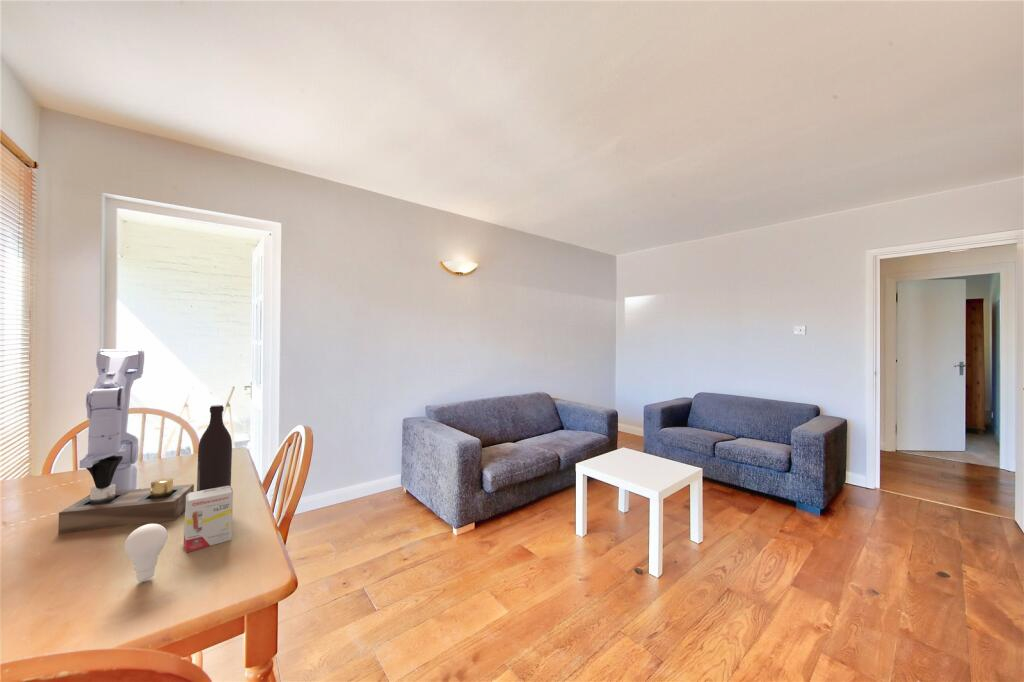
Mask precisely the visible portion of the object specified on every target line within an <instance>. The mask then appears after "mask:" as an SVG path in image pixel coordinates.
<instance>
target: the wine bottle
mask: <svg viewBox="0 0 1024 682" xmlns="http://www.w3.org/2000/svg"><path fill="white" fill-rule="evenodd" d="M224 407H225V406H223V404H213V405H210V407H209V413H210V419H209V423H208V426H207V427H206V429H205V431H204V432H203V433H202V435H201V437H200V439H199V441H198V450H197V474H196V476H197V477H196V491H202V490H207V489H213V488H218V487H224V486H231V487H232V461H233V459H232V457H233V442H232V440H233V439H232V436H231V434H230V432H229V431H228V429H227V428H226V426H225V424H224V420H223V412H224V409H225V408H224Z"/></svg>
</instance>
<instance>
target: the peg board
mask: <svg viewBox="0 0 1024 682" xmlns="http://www.w3.org/2000/svg"><path fill="white" fill-rule="evenodd" d="M194 487H195V484H193V483H192V484H191V483H190V484H181V485H173V494H172V495H171V496H170V497H164V498H154V499H150V495H151V487H147V488H140V489H133V490H121V491H115V500H113V501H112V502H110V503H101V504H91V505H90V494H89V495H87V496H85V497H83V498H81V499H80V500H78V501H76V502H75V503H73V504H71V505H69V506H68V507H66V508H65V509H63V510H61V511H59V512H58V525H57V526H58V527H57V530H58V531H57V532H58V533H57V534H65V533H74V532H84V531H90V530H92V531H93V530H99V529H100V530H101V529H108V528H115V527H116V528H117V527H118V528H120V527H127V526H135V525H136V526H137V525H146V524H155V523H161V522H169V521H170V522H171V521H175V520H176V519H177V518H178V517H179V516H180V515H181V514H182V513H183V512H184V511H185V506H186V495H187V494H189V493H191V492H195V488H194Z"/></svg>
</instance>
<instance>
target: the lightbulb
mask: <svg viewBox="0 0 1024 682" xmlns="http://www.w3.org/2000/svg"><path fill="white" fill-rule="evenodd" d="M168 536H169V534H168V530H167V529H166V528H165V527H164V526H163V525H162V524H158V523H146V524H142V525H141V526H139V527H137V528H136V529H134V530H133V531H132V532H130V534H129V535H128V536H127V538H126V539H125V542H124V551H125V554H127V557H129V558H130V559H131V560H132V562H133V565H134V571H135V574H136V581H138V582H142V583H146V582H148V581H149V580H150V579H151V578H153V577H154V576H155V572H156V571H155V570H156V566H157V564H158V558H159V556H160V553H161V552H162V550H163V548H164V547H165V545H166V544H167V541H168Z"/></svg>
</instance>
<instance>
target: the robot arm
mask: <svg viewBox="0 0 1024 682" xmlns="http://www.w3.org/2000/svg"><path fill="white" fill-rule="evenodd" d="M95 358H96V359H95V361H96V368H97V373H98V375H99V376H97V379H96V381H95V384H94V386H93V389H92V390H89V391H87V393H86V397H85V408H86V414H87V415H86V418H87V420H88V431H87V432H88V434H87V437H88V438H87V440H88V442H87V444H88V445H87V453H86V454H85V455H84V457H83V458H82V459H80V460H79V466H78V467H79V469H86V470H87V471H88V472H89V474H90V475H91V476H92V479H93V483H94V487H95V486H96V488H106V487H108V486H110V484H116V488H115V491H121V490H133V489H141V487H137V478H138V475H137V474H138V473H137V472H138V469H137V467H136V465H135V464H136V463H137V462H138V460H139V452H140V451H139V450H140V449H139V447H140V446H139V438H138V437H137V436H136V435H133V434H131V433H130V432H128V423H129V422H128V421H129V411H130V400H131V392H132V391H131V389H132V386H133V384H134V382H135V381H136V380H138V379H141V378H142V377H143V374H144V367H145V366H144V365H145V351H144V350H143V349H103V348H100V349H99V350H97V352H96V357H95Z"/></svg>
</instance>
